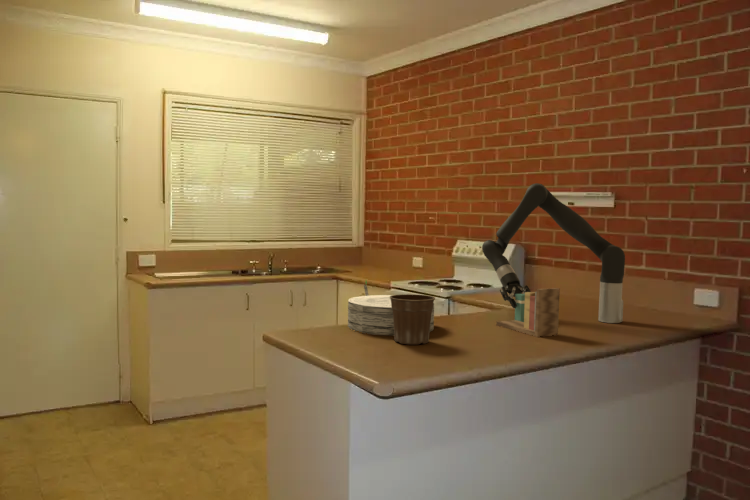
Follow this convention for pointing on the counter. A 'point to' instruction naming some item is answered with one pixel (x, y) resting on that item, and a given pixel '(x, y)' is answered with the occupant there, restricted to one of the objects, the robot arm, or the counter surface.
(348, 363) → the counter surface
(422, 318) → the plant pot
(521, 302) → the teal book
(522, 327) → the book rack
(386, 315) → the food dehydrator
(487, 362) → the counter surface
